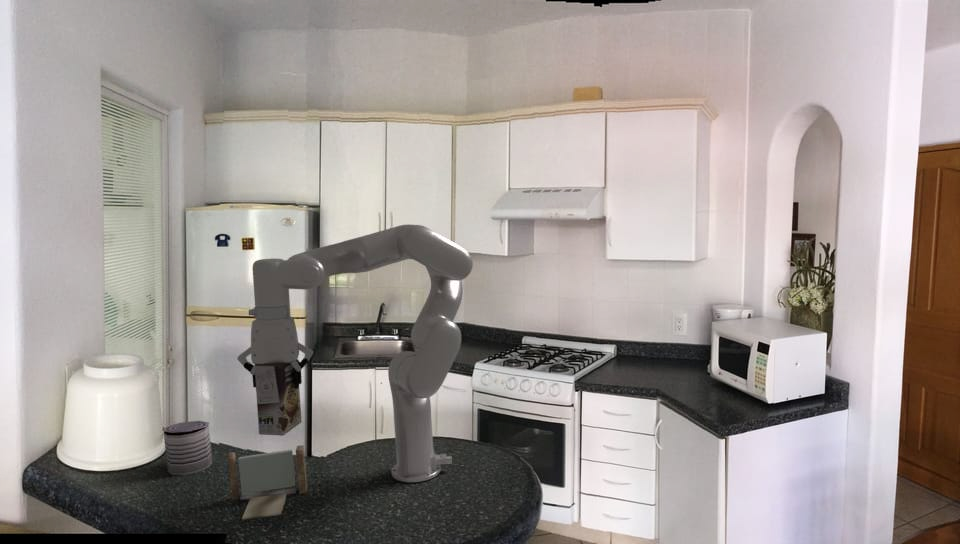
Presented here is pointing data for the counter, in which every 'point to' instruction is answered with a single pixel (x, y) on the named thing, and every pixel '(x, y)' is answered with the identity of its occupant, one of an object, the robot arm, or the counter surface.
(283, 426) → the coffee box
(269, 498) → the board
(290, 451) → the door
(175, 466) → the can
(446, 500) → the counter surface
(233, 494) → the frame
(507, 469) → the counter surface
